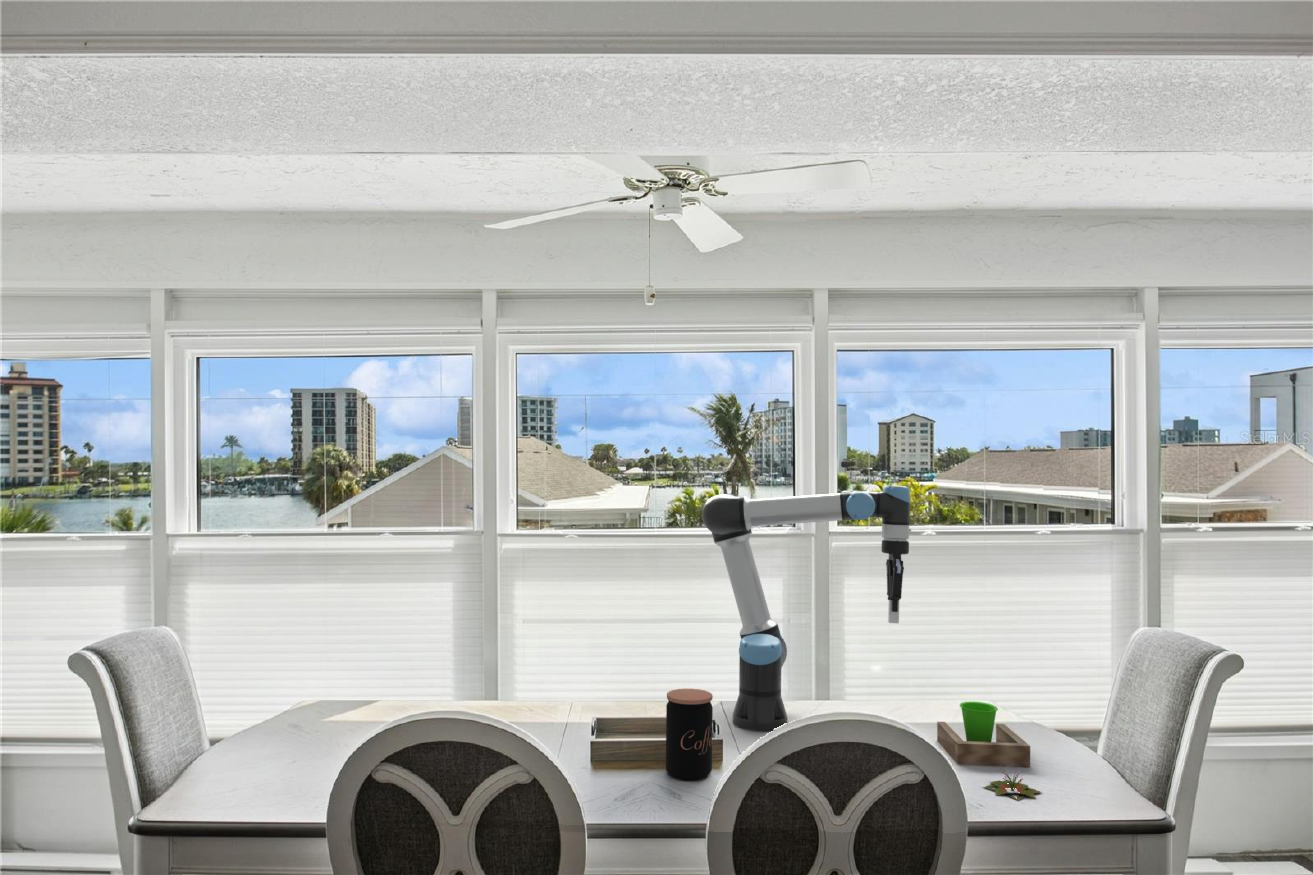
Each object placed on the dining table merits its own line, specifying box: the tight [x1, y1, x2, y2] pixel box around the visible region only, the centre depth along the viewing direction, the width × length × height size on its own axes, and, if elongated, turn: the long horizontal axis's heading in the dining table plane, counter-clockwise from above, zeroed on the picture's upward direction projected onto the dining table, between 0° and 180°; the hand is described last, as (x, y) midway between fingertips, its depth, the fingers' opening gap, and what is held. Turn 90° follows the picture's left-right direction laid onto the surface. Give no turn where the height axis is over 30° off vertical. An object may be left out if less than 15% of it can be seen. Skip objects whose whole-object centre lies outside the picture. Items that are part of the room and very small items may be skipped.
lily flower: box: [981, 769, 1043, 802], centre depth 183 cm, size 12×12×5 cm
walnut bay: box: [936, 721, 1031, 768], centre depth 208 cm, size 17×18×5 cm
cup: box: [959, 701, 999, 742], centre depth 211 cm, size 9×9×11 cm
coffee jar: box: [665, 688, 714, 782], centre depth 191 cm, size 11×11×18 cm
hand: (893, 622), depth 237 cm, fingers closed
